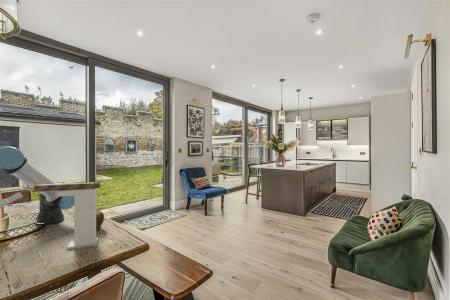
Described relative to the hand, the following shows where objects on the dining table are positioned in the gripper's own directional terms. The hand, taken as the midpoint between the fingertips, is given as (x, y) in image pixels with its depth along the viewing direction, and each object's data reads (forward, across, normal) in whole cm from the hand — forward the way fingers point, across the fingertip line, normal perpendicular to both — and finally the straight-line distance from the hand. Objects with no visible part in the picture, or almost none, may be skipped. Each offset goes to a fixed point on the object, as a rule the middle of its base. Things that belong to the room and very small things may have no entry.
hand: (14, 197), depth 107 cm
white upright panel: (+9, 0, +37) cm, 38 cm away
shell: (+13, +20, +39) cm, 46 cm away
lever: (+21, 0, +9) cm, 23 cm away
